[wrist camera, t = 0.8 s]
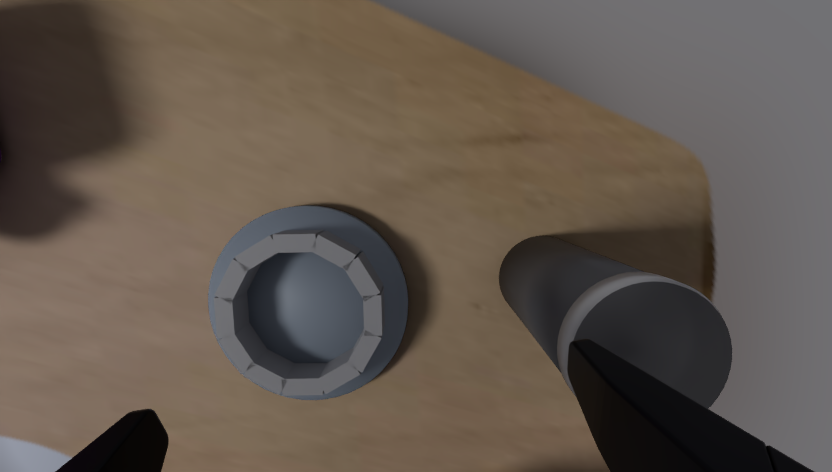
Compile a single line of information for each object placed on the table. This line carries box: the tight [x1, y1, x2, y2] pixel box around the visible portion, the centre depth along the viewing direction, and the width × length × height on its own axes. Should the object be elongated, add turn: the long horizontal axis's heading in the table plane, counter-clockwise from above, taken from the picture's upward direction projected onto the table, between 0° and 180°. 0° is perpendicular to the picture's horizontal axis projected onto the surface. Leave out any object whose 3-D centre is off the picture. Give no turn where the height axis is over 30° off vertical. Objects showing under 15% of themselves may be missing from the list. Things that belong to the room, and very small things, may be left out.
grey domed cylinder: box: [499, 236, 732, 409], centre depth 19 cm, size 5×5×12 cm
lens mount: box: [208, 205, 408, 400], centre depth 24 cm, size 12×12×3 cm
